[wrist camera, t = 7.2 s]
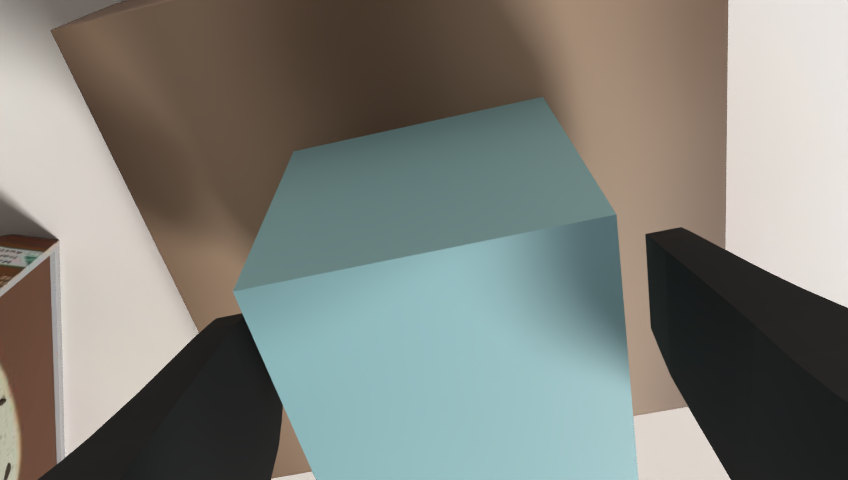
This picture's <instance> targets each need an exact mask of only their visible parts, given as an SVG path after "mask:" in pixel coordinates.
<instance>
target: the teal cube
mask: <svg viewBox="0 0 848 480" xmlns="http://www.w3.org/2000/svg"><path fill="white" fill-rule="evenodd" d="M233 293H234V296H235V298H236V300H237V303H238V305H239V307H240V309H241V312H242V314H243V316H244V318H245V321H246V323H247V325H248V327H249V330H250V332H251V334H252V336H253V339H254V341H255V343H256V345H257V348H258V350H259V352H260V354H261V357H262V359H263V361H264V364H265V366H266V368H267V370H268V373H269V375H270V377H271V379H272V382H273V384H274V386H275V388H276V391H277V393H278V395H279V397H280V400H281V402H282V404H283V406H284V409H285V411H286V413H287V415H288V418H289V420H290V422H291V425H292V427H293V429H294V431H295V434H296V436H297V438H298V440H299V443H300V445H301V447H302V449H303V452H304V454H305V456H306V458H307V461H308V463H309V465H310V467H311V470H312V472H313V474H314V476H315V479H316V480H638V469H637V457H636V445H635V433H634V421H633V409H632V396H631V384H630V372H629V360H628V348H627V336H626V324H625V312H624V300H623V287H622V275H621V263H620V251H619V239H618V227H617V215H616V213H615V211H614V210H613V208H612V206H611V205H610V203H609V202H608V200H607V198H606V197H605V195H604V194H603V192H602V190H601V189H600V187H599V186H598V184H597V182H596V181H595V179H594V178H593V176H592V174H591V173H590V171H589V170H588V168H587V166H586V165H585V163H584V162H583V160H582V158H581V157H580V155H579V154H578V152H577V150H576V149H575V147H574V146H573V144H572V142H571V141H570V139H569V138H568V136H567V134H566V133H565V131H564V130H563V128H562V126H561V125H560V123H559V122H558V120H557V118H556V117H555V115H554V113H553V112H552V110H551V109H550V107H549V105H548V104H547V102H546V101H545V99H544V97H539V98H535V99H530V100H526V101H521V102H517V103H512V104H508V105H503V106H498V107H494V108H489V109H485V110H480V111H476V112H471V113H467V114H462V115H457V116H453V117H448V118H444V119H439V120H435V121H430V122H425V123H421V124H416V125H412V126H407V127H403V128H398V129H394V130H389V131H384V132H380V133H375V134H371V135H366V136H362V137H357V138H353V139H348V140H343V141H339V142H334V143H330V144H325V145H321V146H316V147H312V148H307V149H302V150H298V151H293V154H292V156H291V158H290V161H289V163H288V165H287V168H286V170H285V172H284V174H283V177H282V179H281V181H280V184H279V186H278V188H277V191H276V193H275V195H274V197H273V200H272V202H271V204H270V207H269V209H268V211H267V214H266V216H265V218H264V220H263V223H262V225H261V227H260V230H259V232H258V234H257V237H256V239H255V241H254V244H253V246H252V248H251V250H250V253H249V255H248V257H247V260H246V262H245V264H244V267H243V269H242V271H241V273H240V276H239V278H238V280H237V283H236V285H235V287H234V290H233Z"/></svg>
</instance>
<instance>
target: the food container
mask: <svg viewBox="0 0 848 480" xmlns="http://www.w3.org/2000/svg"><path fill="white" fill-rule="evenodd" d="M64 458H65V452H64V413H63V375H62V336H61V297H60V259H59V240H54V239H46V238H38V237H30V236H22V235H14V234H13V235H4V236H0V480H38V479H39V478H40V477H41V476H43V475H44V474H45V473H46V472H48V471H49V470H50V469H52V468H53V467H54V466H55V465H57V464H58V463H59V462H61V461H62V460H63V459H64Z"/></svg>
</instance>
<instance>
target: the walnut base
mask: <svg viewBox="0 0 848 480" xmlns="http://www.w3.org/2000/svg"><path fill="white" fill-rule="evenodd" d="M51 32H52V35H53V37H54V39H55V41H56V43H57V45H58V47H59V49H60V51H61V53H62V55H63V57H64V59H65V61H66V63H67V65H68V67H69V69H70V71H71V73H72V75H73V77H74V79H75V81H76V83H77V85H78V87H79V89H80V91H81V93H82V95H83V98H84V100H85V102H86V104H87V106H88V108H89V110H90V112H91V114H92V116H93V118H94V120H95V122H96V124H97V126H98V128H99V130H100V132H101V134H102V136H103V138H104V140H105V142H106V144H107V146H108V148H109V150H110V152H111V154H112V156H113V158H114V161H115V163H116V165H117V167H118V169H119V171H120V173H121V175H122V177H123V179H124V181H125V183H126V185H127V187H128V189H129V191H130V193H131V195H132V197H133V199H134V201H135V203H136V205H137V207H138V209H139V211H140V213H141V215H142V217H143V219H144V221H145V224H146V226H147V228H148V230H149V232H150V234H151V236H152V238H153V240H154V242H155V244H156V246H157V248H158V250H159V252H160V254H161V256H162V258H163V260H164V262H165V264H166V266H167V268H168V270H169V272H170V274H171V276H172V278H173V280H174V282H175V284H176V287H177V289H178V291H179V293H180V295H181V297H182V299H183V301H184V303H185V305H186V307H187V309H188V311H189V313H190V315H191V317H192V319H193V321H194V323H195V325H196V327H197V329H198V331H199V333H200V332H201V331H202V330H203V329H204V328H205V327H206V326H207V325H209V324H210V323H211V322H212V321H214V320H215V319H216V318H220V317H225V316H231V315H236V314H241V313H242V312H241V309H240V307H239V305H238V303H237V300H236V298H235V296H234V293H233V290H234V287H235V285H236V283H237V280H238V278H239V276H240V273H241V271H242V269H243V267H244V264H245V262H246V260H247V257H248V255H249V253H250V250H251V248H252V246H253V244H254V241H255V239H256V237H257V234H258V232H259V230H260V227H261V225H262V223H263V220H264V218H265V216H266V214H267V211H268V209H269V207H270V204H271V202H272V200H273V197H274V195H275V193H276V191H277V188H278V186H279V184H280V181H281V179H282V177H283V174H284V172H285V170H286V168H287V165H288V163H289V161H290V158H291V156H292V154H293V151H298V150H302V149H307V148H312V147H316V146H321V145H325V144H330V143H334V142H339V141H343V140H348V139H353V138H357V137H362V136H366V135H371V134H375V133H380V132H384V131H389V130H394V129H398V128H403V127H407V126H412V125H416V124H421V123H425V122H430V121H435V120H439V119H444V118H448V117H453V116H457V115H462V114H467V113H471V112H476V111H480V110H485V109H489V108H494V107H498V106H503V105H508V104H512V103H517V102H521V101H526V100H530V99H535V98H539V97H544V99H545V101H546V102H547V104H548V105H549V107H550V109H551V110H552V112H553V113H554V115H555V117H556V118H557V120H558V122H559V123H560V125H561V126H562V128H563V130H564V131H565V133H566V134H567V136H568V138H569V139H570V141H571V142H572V144H573V146H574V147H575V149H576V150H577V152H578V154H579V155H580V157H581V158H582V160H583V162H584V163H585V165H586V166H587V168H588V170H589V171H590V173H591V174H592V176H593V178H594V179H595V181H596V182H597V184H598V186H599V187H600V189H601V190H602V192H603V194H604V195H605V197H606V198H607V200H608V202H609V203H610V205H611V206H612V208H613V210H614V211H615V213H616V215H617V227H618V239H619V251H620V263H621V275H622V287H623V300H624V312H625V324H626V336H627V348H628V360H629V372H630V384H631V396H632V409H633V416H636V415H642V414H648V413H654V412H659V411H665V410H671V409H677V408H683V407H688V405H687V404H686V402H685V400H684V398H683V397H682V395H681V393H680V391H679V390H678V388H677V386H676V384H675V383H674V381H673V379H672V377H671V375H670V373H669V371H668V368H667V366H666V364H665V361H664V359H663V357H662V354H661V352H660V350H659V347H658V345H657V342H656V340H655V337H654V335H653V332H652V330H651V324H650V307H649V290H648V272H647V255H646V238H645V234H648V233H653V232H658V231H663V230H668V229H673V228H679V227H682V228H684V229H687V230H689V231H691V232H693V233H695V234H697V235H699V236H701V237H702V238H704V239H706V240H708V241H710V242H712V243H714V244H715V245H717V246H719V247H721V248H723V249H725V227H726V140H727V53H728V0H128V1H124V2H120V3H116V4H114V5H111V6H109V7H107V8H104V9H102V10H99V11H97V12H94V13H92V14H89V15H87V16H85V17H82V18H80V19H77V20H75V21H72V22H70V23H67V24H65V25H62V26H60V27H58V28H55V29H53V30H51ZM311 471H312V470H311V467H310V465H309V463H308V461H307V458H306V456H305V454H304V452H303V449H302V447H301V445H300V443H299V440H298V438H297V436H296V434H295V431H294V429H293V427H292V425H291V422H290V420H289V418H288V415H287V413H286V411H285V409H284V406H283V411H282V423H281V432H280V441H279V447H278V452H277V456H276V460H275V465H274V469H273V473H272V477H271V478H277V477H282V476H288V475H294V474H300V473H306V472H311Z"/></svg>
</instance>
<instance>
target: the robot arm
mask: <svg viewBox="0 0 848 480" xmlns="http://www.w3.org/2000/svg"><path fill="white" fill-rule="evenodd" d="M645 238H646V255H647V272H648V290H649V307H650V324H651V330H652V332H653V335H654V337H655V340H656V342H657V345H658V347H659V350H660V352H661V354H662V357H663V359H664V361H665V364H666V366H667V368H668V371H669V373H670V375H671V377H672V379H673V381H674V383H675V384H676V386H677V388H678V390H679V391H680V393H681V395H682V397H683V398H684V400H685V402H686V404H687V405H688V407H689V409H690V411H691V412H692V414H693V416H694V417H695V419H696V421H697V423H698V424H699V426H700V428H701V429H702V431H703V433H704V434H705V436H706V438H707V440H708V441H709V443H710V445H711V446H712V448H713V450H714V451H715V453H716V455H717V457H718V458H719V460H720V462H721V463H722V465H723V467H724V469H725V470H726V472H727V474H728V475H729V477H730V479H731V480H848V308H847V307H844V306H842V305H839V304H837V303H835V302H832V301H830V300H828V299H826V298H823V297H821V296H819V295H816V294H814V293H812V292H809V291H807V290H805V289H803V288H800V287H798V286H796V285H794V284H792V283H790V282H788V281H786V280H783V279H781V278H779V277H777V276H775V275H773V274H771V273H769V272H767V271H765V270H763V269H761V268H759V267H757V266H755V265H753V264H751V263H749V262H748V261H746V260H744V259H742V258H740V257H738V256H736V255H734V254H732V253H730V252H729V251H727V250H725V249H723V248H721V247H719V246H717V245H715V244H714V243H712V242H710V241H708V240H706V239H704V238H702V237H701V236H699V235H697V234H695V233H693V232H691V231H689V230H687V229H684V228H682V227H679V228H673V229H668V230H663V231H658V232H653V233H648V234H645ZM282 411H283V404H282V402H281V400H280V397H279V395H278V393H277V391H276V388H275V386H274V384H273V382H272V379H271V377H270V375H269V373H268V370H267V368H266V366H265V364H264V361H263V359H262V357H261V354H260V352H259V350H258V348H257V345H256V343H255V341H254V339H253V336H252V334H251V332H250V330H249V327H248V325H247V323H246V321H245V318H244V316H243V314H242V313H241V314H236V315H231V316H225V317H220V318H216V319H215V320H214V321H212V322H211V323H210V324H209V325H207V326H206V327H205V328H204V329H203V330H202V331H201V332H200V333H199V334H198V335H197V336H196V337H194V338H193V339H192V340H191V341H190V342H189V343H188V344H187V345H186V346H185V347H184V348H183V349H182V350H181V351H180V352H179V353H178V354H177V355H176V356H175V357H174V358H173V359H172V360H171V361H170V362H169V363H168V364H167V365H166V366H165V367H164V368H163V369H162V370H161V371H160V372H159V373H158V374H157V375H156V376H155V377H154V378H153V379H152V380H151V381H150V382H149V383H148V384H147V385H146V386H145V387H144V388H143V389H142V390H141V391H140V392H139V393H137V394H136V395H135V396H134V397H133V398H132V399H131V400H130V401H129V402H128V403H127V404H126V405H124V406H123V407H122V408H121V409H120V410H119V411H118V412H117V413H116V414H115V415H114V416H112V417H111V418H110V419H109V420H108V421H107V422H106V423H105V424H104V425H103V426H102V427H100V428H99V429H98V430H97V431H96V432H95V433H94V434H93V435H92V436H91V437H89V438H88V439H87V440H86V441H85V442H84V443H82V444H81V445H80V446H79V447H78V448H76V449H75V450H74V451H73V452H72V453H70V454H69V455H68V456H67V457H66V458H64V459H63V460H62V461H61V462H59V463H58V464H57V465H55V466H54V467H53V468H52V469H50V470H49V471H48V472H46V473H45V474H44V475H43V476H41V477H40V478H39V479H38V480H271V477H272V473H273V469H274V465H275V460H276V456H277V452H278V447H279V441H280V432H281V423H282Z"/></svg>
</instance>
